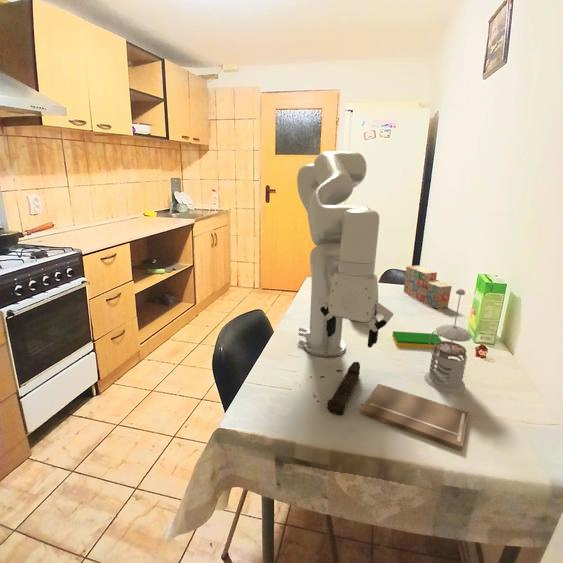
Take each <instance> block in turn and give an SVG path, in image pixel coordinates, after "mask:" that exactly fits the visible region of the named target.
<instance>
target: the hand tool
mask: <svg viewBox="0 0 563 563" xmlns="http://www.w3.org/2000/svg"><path fill="white" fill-rule="evenodd" d="M360 371H361V364H360V362H359V361H354V362H352V363H351V365H349V367H348V369H347V373H345V376H344V378H343V379H342V381H341V382H340V384H339V385H338V387H337V389H336V391H335V392H334V394H333V395H332V397H331V398H329V399H328V401H326V402H327V403H326V409H327V411H328V412H329V413H331V414H334V415H336V416H343V415H344V413H345V411H346V406H347V404H348V402H349V400H350V398H351V396H352V393H353V391H354V389H355V388H356V386H357V385H358V382H359V379H360V378H359V377H360V373H361V372H360Z"/></svg>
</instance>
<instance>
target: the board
mask: <svg viewBox="0 0 563 563" xmlns="http://www.w3.org/2000/svg"><path fill="white" fill-rule="evenodd" d="M360 412H361V413H360V414H361V415H362V416H365V417H367V418H370V419H373V420H375V421H378V422H380V423H383V424H387V425H389V426H392V427H394V428H397V429H399V430H402V431H406V432H407V433H410V434H413V435H416V436H418V437H421V438H424V439H425V440H426V439H427V440H428V441H432V442H434V443H437V444H440V445H442V446H445V447H447V448H451V449H453V450H456V451H459V452H462V450H463V445H464V441H465V440H464V439H465V434H466V427H467V422H468V416H469V412H468V411H465V410H462V409H460V408H456V407H452V406H449V405H446V404H444V403H440V402H437V401H434V400H432V399H431V400H430V399H428V398H424V397H421V396H418V395H415V394H412V393H410V392H409V393H408V392H406V391H402V390H399V389H396V388H393V387H391V386H387V385H384V384H381V383H377V384H376V386H375V388H374V389H373V390H372V392H371V394H370V396H369V397H368V399H367V401H366V402H365V403H364V405H363V407H362V409H361V410H360Z"/></svg>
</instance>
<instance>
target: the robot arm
mask: <svg viewBox="0 0 563 563" xmlns="http://www.w3.org/2000/svg"><path fill="white" fill-rule="evenodd" d="M314 159H315V160H314V162H313V163H309V164H305V165H303V166H302V167H300V168H299V169H298V173H297V174H296V175H297V178H296V185H297V192H298V196H299V198H300V200H301V201H300V202H301V203H302V205H303V207H304V208H305V210H306V214H307V219H308V220H307V221H308V227H309V232H310V233H309V234H310V237H311V240H312V243H313V244H314V245H315V246H314V247H313V248H312V250H311V251H310V255H309V268H310V277H311V278H310V279H311V292H310V294H311V296H310V297H311V299H310V315H309V328H307V327H303V326H300V327H299V328H298V336H299V337H303V338H305V339H304V341H303V347H304V348H303V349H305V351H307V352H308V353H309V354H312V355H314V356H317V357H325V358H326V357H327V358H328V357H329V358H330V357H337V356H340V355H342V354H343V353H344V352H346V350H347V349H346V348H347V345H346V343H345V341H344V340H342V333H343V332H342V330H343V320H344V319H345V320H349V321H353V322H356V321H357V323H361V324H362V323H363V324H367V325H368V327H369V328H370V329H369V331H368V337H367V338H368V339H367V347H368V348H369V349H370V348H372V347H373V346H374V345H376V344H377V343H378V337H379V330H380V329H382V328H384V327H385V326H387V324H388V323H389V322H390V320H391V318H392V317H393V315H394V313H393V312H392V311H391V310H389V309H388V308H387V307H385V306H384V305H382V304H381V303H380V302H379V284H378V276H377V274H375V268H376V257H377V248H378V247H377V246H378V239H379V229H380V228H379V227H380V214H379V212H377V211H375V210H373V209H371V208H370V207H368V206H365V205H349V204H348V205H347V204H345V205H343V204H342V203H343V202H345V201H346V200H348V199H349V198H350V197H351V195H352V194H353V191H354V188H356V187H357V186H359V185H360V184H362V182H363V181H364V179H365V177H366V175H367V162H366V159H365V157H364V156H363V155H362V154H361V153H359V152H357V151H354V152H353V151H337V150H336V151H333V150H330V151H323V153H319V155H317V156H316V158H314ZM378 313H380V315H382V316H383V318H381V319H380V320H379V319H378V318H377V315H378Z"/></svg>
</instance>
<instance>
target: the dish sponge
mask: <svg viewBox="0 0 563 563" xmlns="http://www.w3.org/2000/svg"><path fill="white" fill-rule="evenodd" d="M431 334H432V333H429V332H428V333H426V332H414V331H413V332H412V331H411V332H410V331H409V332H408V331H395V330H394V331H392V336H391V338H392V337H393V338H392V341H393V342H394V344H395V346H396V348H397V347H398V348H409V347H410V349H411V348H412V349H428V350H430V349H431V350H433V348H435V347H436V346H435V345H434V339H435V335H436V334H437V333H433V334H432V336H431V337H430V335H431ZM429 338H430V349H429ZM439 341H442V340H441V337H439V336H438V334H437V335H436V340H435V344H436V343H437V342H439Z"/></svg>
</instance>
